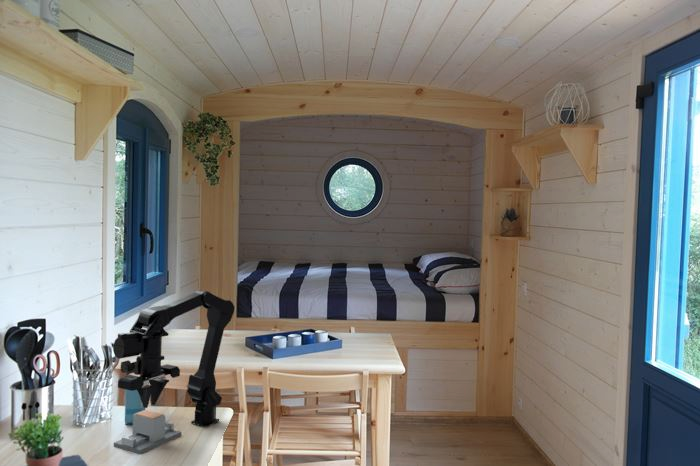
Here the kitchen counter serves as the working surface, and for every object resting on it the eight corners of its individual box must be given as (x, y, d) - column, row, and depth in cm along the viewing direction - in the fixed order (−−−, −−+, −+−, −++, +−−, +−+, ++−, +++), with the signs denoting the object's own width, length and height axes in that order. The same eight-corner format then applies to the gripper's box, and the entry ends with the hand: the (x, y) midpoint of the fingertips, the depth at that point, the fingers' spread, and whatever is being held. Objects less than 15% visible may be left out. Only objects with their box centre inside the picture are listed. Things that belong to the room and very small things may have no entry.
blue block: (139, 424, 180) (140, 386, 180) (124, 425, 179) (125, 386, 179) (145, 411, 192) (146, 375, 191) (130, 412, 191) (131, 376, 190)
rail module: (144, 431, 172) (145, 409, 172) (164, 437, 168) (165, 414, 168) (132, 436, 168) (133, 413, 168) (153, 442, 164) (153, 418, 164)
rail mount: (156, 428, 177) (156, 418, 177) (181, 435, 173) (181, 425, 173) (113, 446, 163) (114, 435, 163) (139, 453, 159) (140, 442, 158)
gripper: (154, 343, 179) (152, 393, 180) (104, 355, 162) (103, 410, 163) (181, 348, 174) (180, 399, 175) (133, 360, 158) (131, 417, 158)
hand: (149, 406), depth 168 cm, fingers open, 3 cm apart
